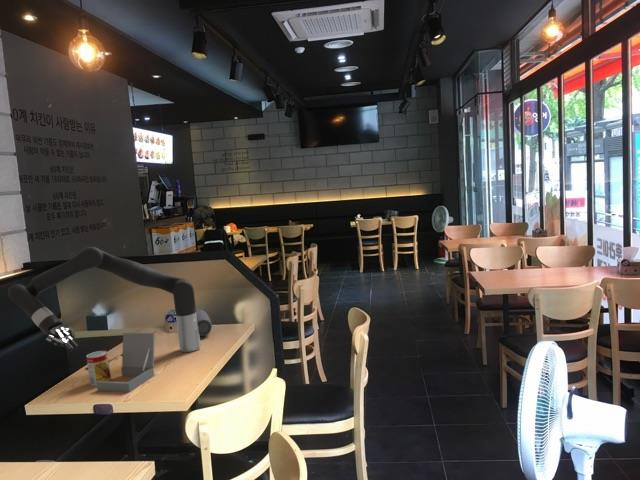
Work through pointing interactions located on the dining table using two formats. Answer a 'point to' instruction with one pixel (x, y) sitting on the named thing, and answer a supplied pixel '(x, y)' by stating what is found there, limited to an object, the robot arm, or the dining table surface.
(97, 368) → the canned food
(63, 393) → the dining table surface
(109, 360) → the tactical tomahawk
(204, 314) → the bluetooth speaker
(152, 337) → the case
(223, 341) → the dining table surface
